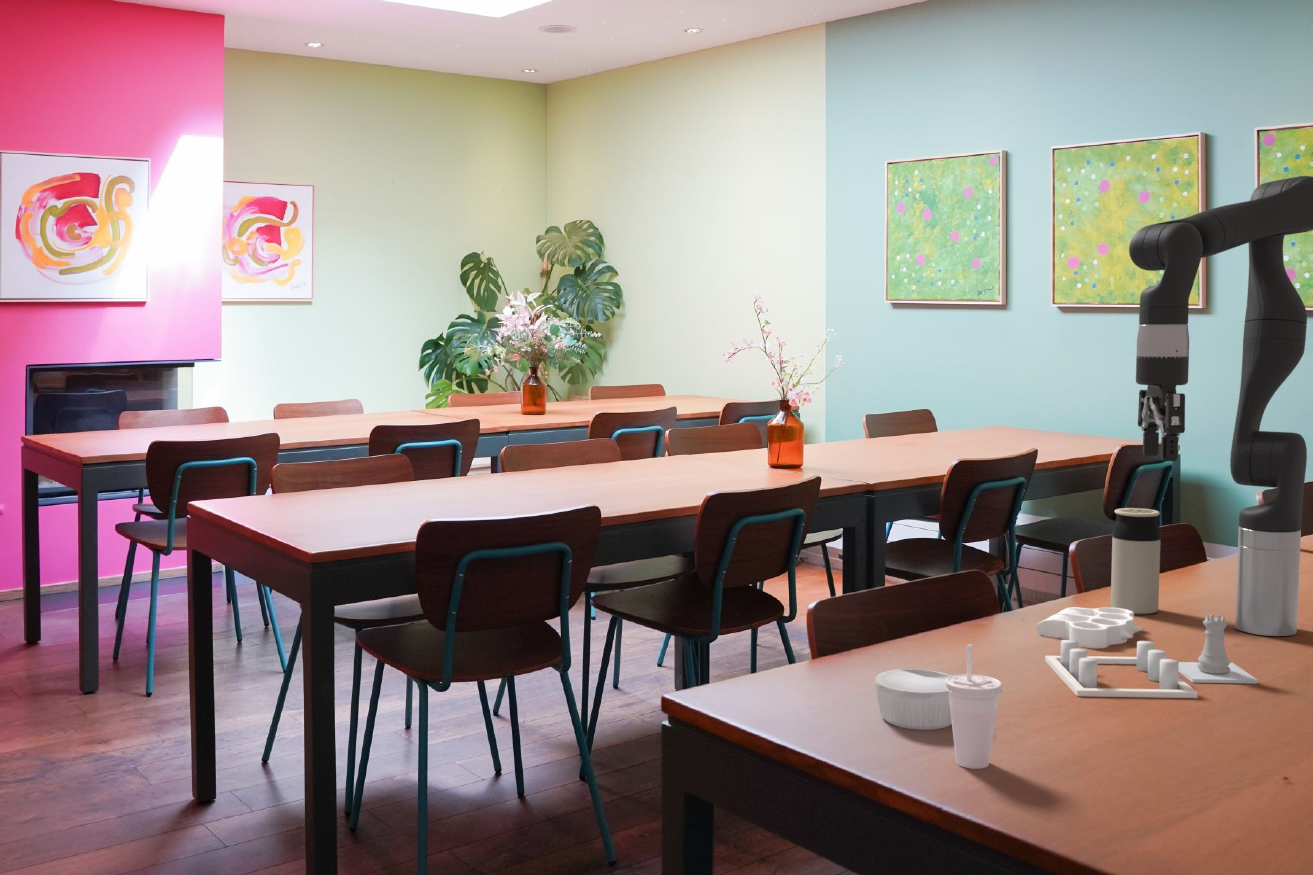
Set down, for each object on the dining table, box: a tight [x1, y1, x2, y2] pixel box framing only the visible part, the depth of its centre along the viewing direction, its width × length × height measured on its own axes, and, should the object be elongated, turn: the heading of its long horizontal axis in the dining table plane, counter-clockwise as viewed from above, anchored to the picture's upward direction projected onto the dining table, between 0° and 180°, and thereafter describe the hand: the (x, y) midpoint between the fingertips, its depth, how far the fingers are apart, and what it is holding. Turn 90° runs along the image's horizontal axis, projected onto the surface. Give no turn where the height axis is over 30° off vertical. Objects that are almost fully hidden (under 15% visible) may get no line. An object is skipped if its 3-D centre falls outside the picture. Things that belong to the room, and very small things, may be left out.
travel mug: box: [1110, 507, 1162, 616], centre depth 215 cm, size 8×8×18 cm
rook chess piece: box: [1197, 614, 1231, 674], centre depth 174 cm, size 4×4×8 cm
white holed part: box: [1035, 606, 1145, 649], centre depth 198 cm, size 3×18×15 cm
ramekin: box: [874, 668, 953, 731], centre depth 155 cm, size 11×11×5 cm
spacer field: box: [1044, 639, 1199, 699], centre depth 173 cm, size 18×16×4 cm
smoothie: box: [945, 643, 1003, 770], centre depth 139 cm, size 6×6×14 cm
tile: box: [1178, 661, 1259, 685], centre depth 175 cm, size 9×9×1 cm
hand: (1159, 458), depth 187 cm, fingers open, 8 cm apart
